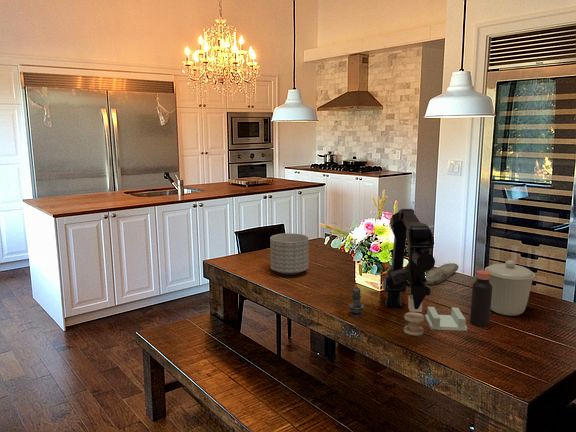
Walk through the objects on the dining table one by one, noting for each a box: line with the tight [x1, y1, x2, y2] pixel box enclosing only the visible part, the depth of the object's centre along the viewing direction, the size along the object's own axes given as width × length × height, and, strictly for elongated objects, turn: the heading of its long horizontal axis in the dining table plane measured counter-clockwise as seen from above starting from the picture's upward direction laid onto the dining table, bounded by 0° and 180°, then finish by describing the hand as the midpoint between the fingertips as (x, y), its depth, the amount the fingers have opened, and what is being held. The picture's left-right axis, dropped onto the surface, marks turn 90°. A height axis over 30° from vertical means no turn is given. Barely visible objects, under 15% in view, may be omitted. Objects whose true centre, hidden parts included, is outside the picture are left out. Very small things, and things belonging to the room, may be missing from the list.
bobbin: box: [403, 311, 425, 337], centre depth 171 cm, size 7×7×6 cm
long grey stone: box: [423, 262, 459, 286], centre depth 233 cm, size 35×5×10 cm
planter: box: [269, 232, 309, 276], centre depth 237 cm, size 19×19×18 cm
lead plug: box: [407, 294, 423, 313], centre depth 162 cm, size 4×4×6 cm
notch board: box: [424, 306, 468, 332], centre depth 178 cm, size 11×13×4 cm
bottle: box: [469, 269, 492, 327], centre depth 177 cm, size 7×7×20 cm
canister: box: [484, 259, 536, 317], centre depth 189 cm, size 18×18×21 cm
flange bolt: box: [348, 285, 365, 318], centre depth 186 cm, size 6×6×12 cm
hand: (415, 306), depth 162 cm, fingers closed on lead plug, 4 cm apart
